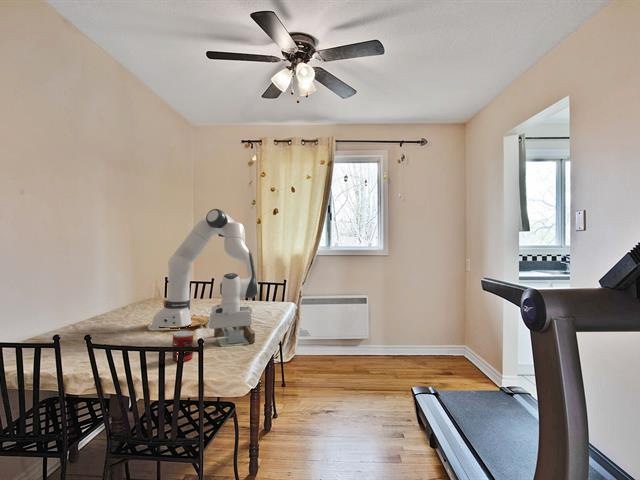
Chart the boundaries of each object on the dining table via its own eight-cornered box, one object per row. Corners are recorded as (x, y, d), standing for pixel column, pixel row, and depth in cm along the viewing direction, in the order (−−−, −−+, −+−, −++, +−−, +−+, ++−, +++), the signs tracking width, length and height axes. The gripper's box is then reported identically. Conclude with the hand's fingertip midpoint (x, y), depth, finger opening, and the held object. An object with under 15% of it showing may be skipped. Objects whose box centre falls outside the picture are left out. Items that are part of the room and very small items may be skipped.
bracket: (225, 336, 181) (225, 326, 180) (239, 335, 183) (239, 325, 183) (228, 343, 171) (229, 332, 170) (243, 341, 173) (244, 331, 173)
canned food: (175, 355, 155) (176, 330, 154) (194, 355, 155) (195, 330, 155) (169, 362, 147) (170, 335, 147) (190, 362, 148) (190, 335, 147)
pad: (221, 346, 168) (221, 346, 168) (217, 338, 180) (217, 337, 180) (249, 343, 173) (249, 343, 173) (243, 335, 186) (243, 335, 186)
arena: (218, 347, 167) (219, 336, 167) (214, 336, 183) (214, 326, 183) (257, 343, 174) (257, 333, 174) (249, 332, 190) (249, 323, 190)
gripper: (250, 304, 182) (250, 332, 183) (208, 307, 174) (207, 336, 175) (253, 307, 176) (253, 335, 177) (209, 310, 168) (209, 339, 169)
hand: (230, 335), depth 176 cm, fingers closed on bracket, 3 cm apart
